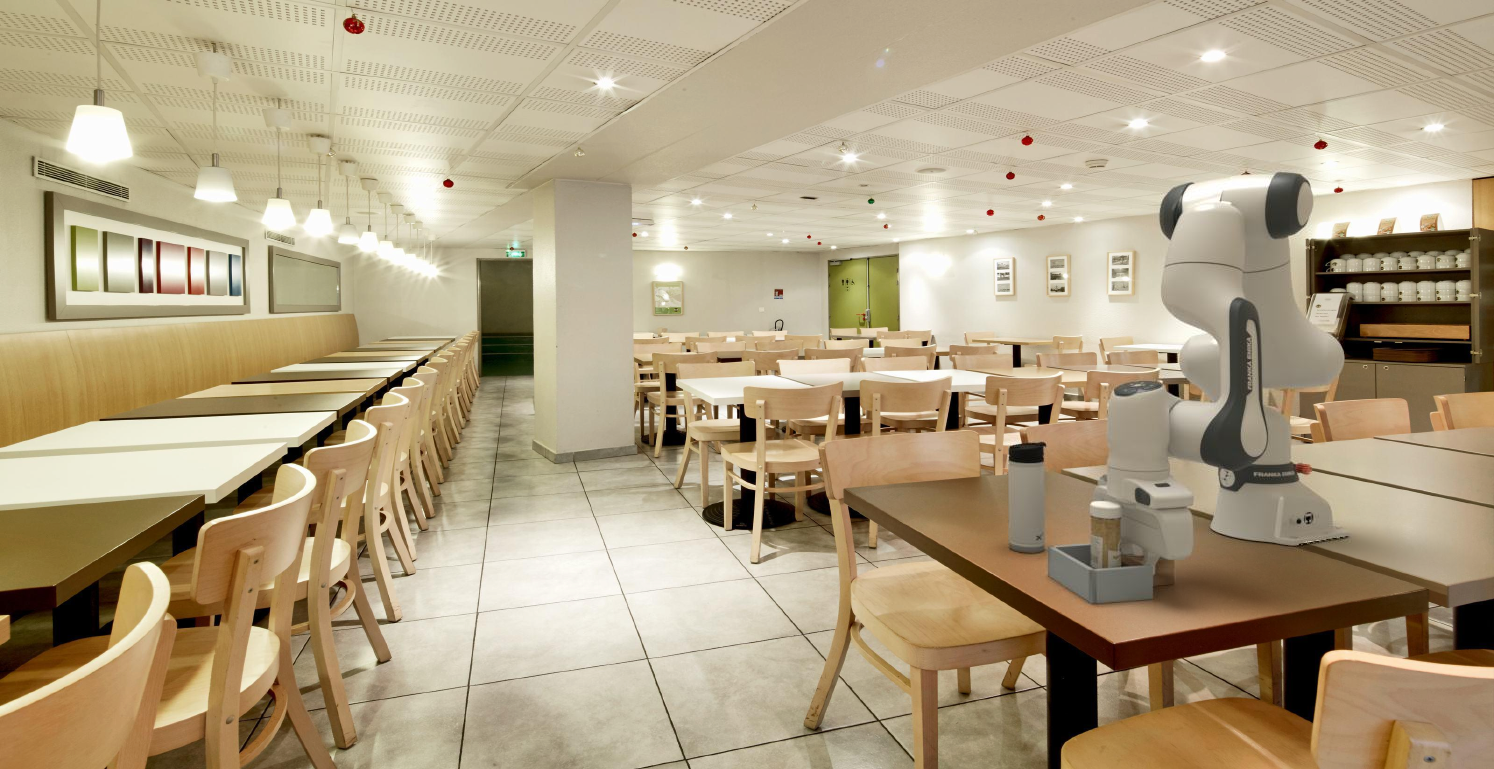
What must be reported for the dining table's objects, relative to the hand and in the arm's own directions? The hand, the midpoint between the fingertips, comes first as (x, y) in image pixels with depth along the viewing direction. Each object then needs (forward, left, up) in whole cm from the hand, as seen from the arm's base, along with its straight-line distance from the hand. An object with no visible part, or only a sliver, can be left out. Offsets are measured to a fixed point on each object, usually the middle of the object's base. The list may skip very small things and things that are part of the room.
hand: (1137, 569), depth 118 cm
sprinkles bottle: (+6, 0, -3) cm, 6 cm away
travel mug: (+8, -21, -3) cm, 23 cm away
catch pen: (+7, 0, -2) cm, 7 cm away
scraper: (-1, 0, -2) cm, 3 cm away
